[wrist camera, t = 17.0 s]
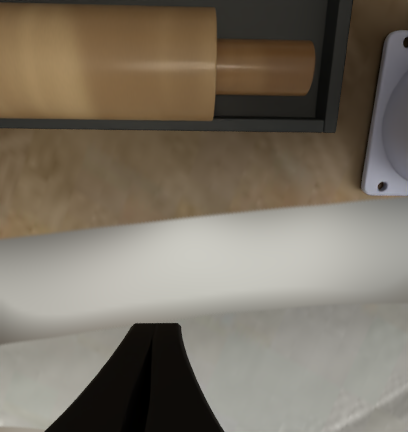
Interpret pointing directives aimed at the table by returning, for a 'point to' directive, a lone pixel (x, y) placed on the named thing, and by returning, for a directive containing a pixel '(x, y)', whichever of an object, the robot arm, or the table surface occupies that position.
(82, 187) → the table surface
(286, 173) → the table surface
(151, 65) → the rolling pin
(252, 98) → the pastry tray
